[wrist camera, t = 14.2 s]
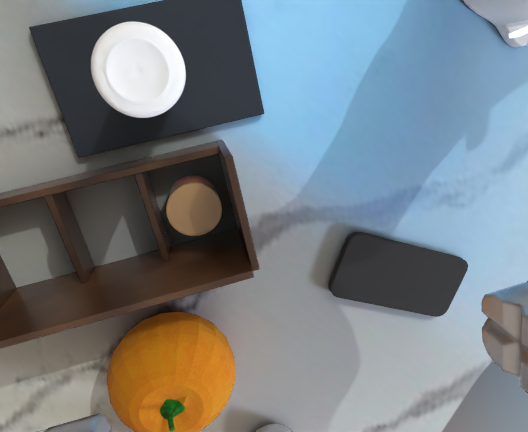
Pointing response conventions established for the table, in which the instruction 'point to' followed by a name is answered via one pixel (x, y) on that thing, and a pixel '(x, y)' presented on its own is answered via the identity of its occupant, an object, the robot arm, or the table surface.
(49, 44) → the rubber mat
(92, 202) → the table surface
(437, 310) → the phone
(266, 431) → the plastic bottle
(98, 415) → the robot arm
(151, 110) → the sprinkles bottle
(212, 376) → the fruit
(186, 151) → the spice rack
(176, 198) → the spice tin
